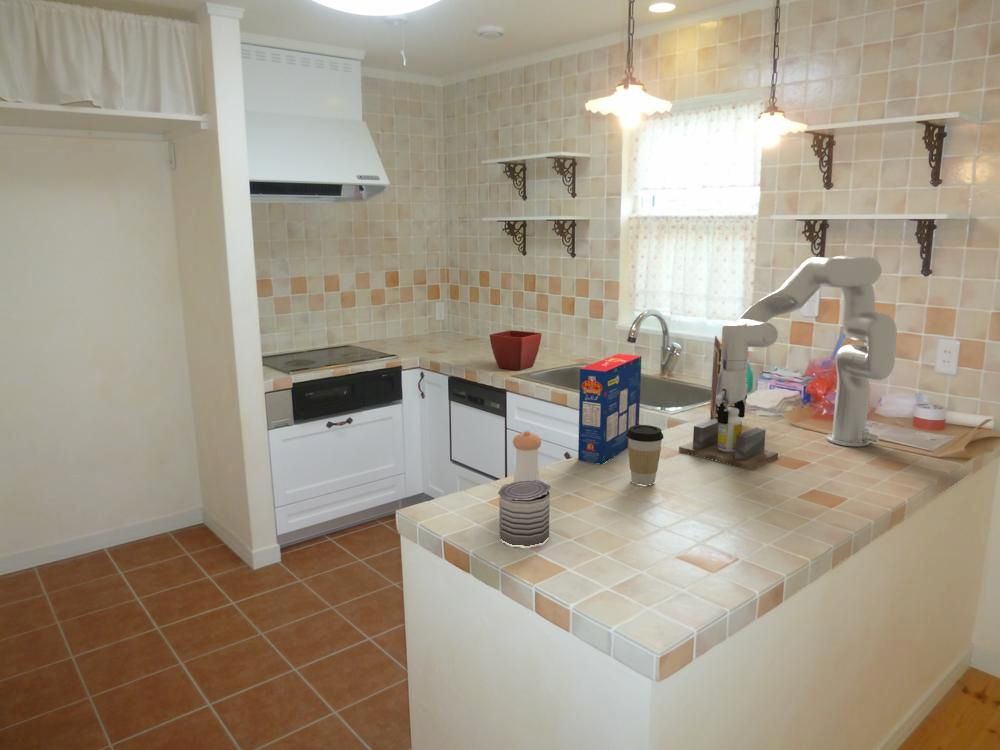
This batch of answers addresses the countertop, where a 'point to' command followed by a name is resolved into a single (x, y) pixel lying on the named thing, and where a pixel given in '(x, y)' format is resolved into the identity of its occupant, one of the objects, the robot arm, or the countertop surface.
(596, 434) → the blue cereal box
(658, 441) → the coffee cup
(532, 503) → the can
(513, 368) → the plant pot
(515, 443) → the pepper shaker
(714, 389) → the decorative book
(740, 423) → the supplement bottle
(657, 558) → the countertop surface
